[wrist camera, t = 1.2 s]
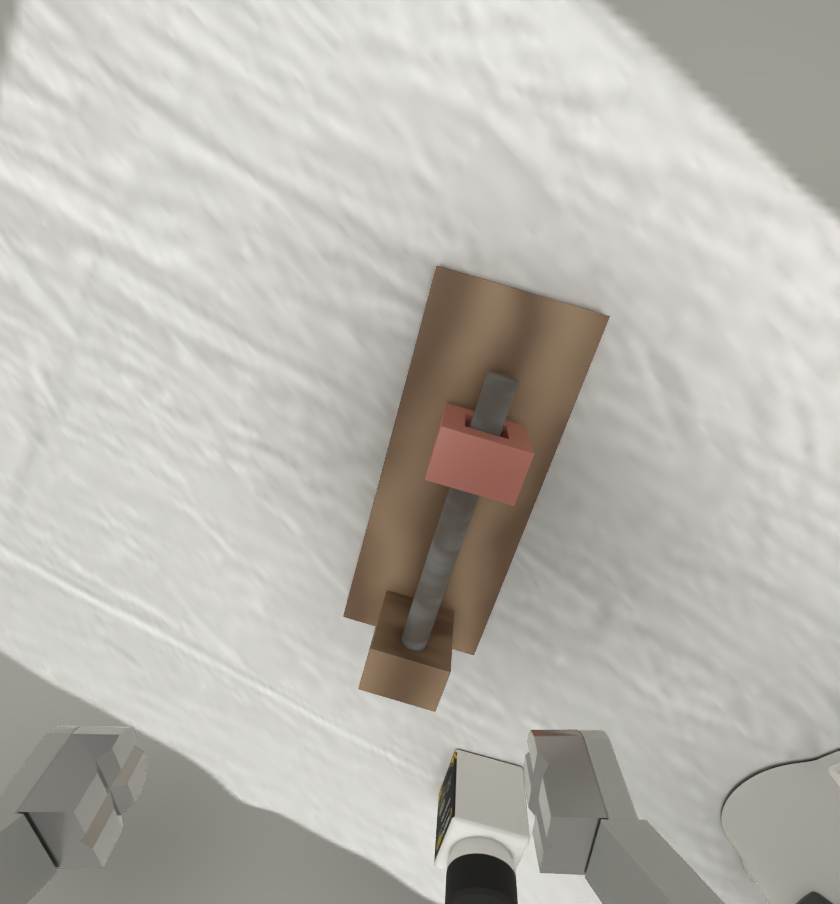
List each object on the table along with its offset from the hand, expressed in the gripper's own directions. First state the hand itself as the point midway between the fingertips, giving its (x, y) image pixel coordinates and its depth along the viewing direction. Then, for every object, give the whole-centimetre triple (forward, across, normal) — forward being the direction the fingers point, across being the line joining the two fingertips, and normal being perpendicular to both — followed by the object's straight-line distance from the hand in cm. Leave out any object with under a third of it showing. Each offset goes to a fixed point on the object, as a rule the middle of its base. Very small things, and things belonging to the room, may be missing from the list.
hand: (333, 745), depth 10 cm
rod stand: (+28, +5, -9) cm, 30 cm away
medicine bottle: (+25, +8, -43) cm, 50 cm away
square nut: (+25, +6, -4) cm, 26 cm away
